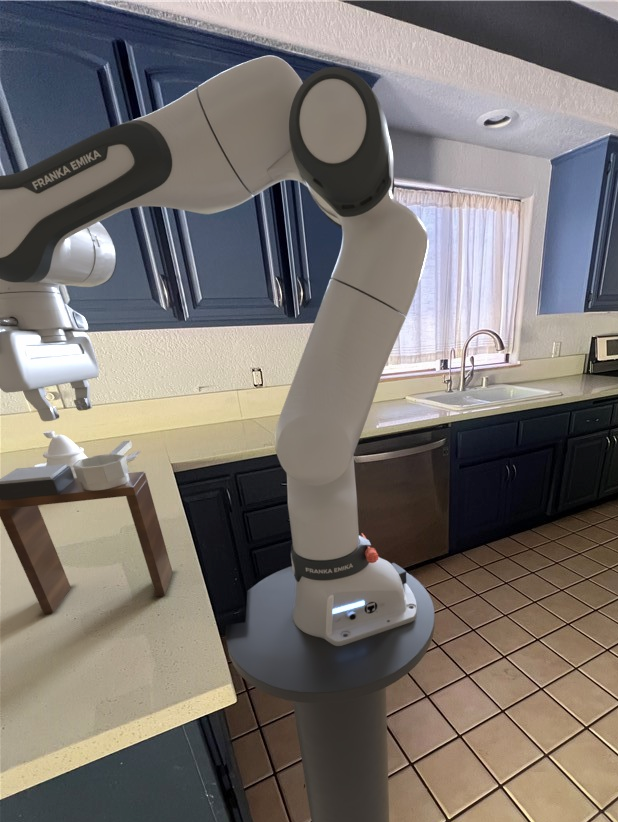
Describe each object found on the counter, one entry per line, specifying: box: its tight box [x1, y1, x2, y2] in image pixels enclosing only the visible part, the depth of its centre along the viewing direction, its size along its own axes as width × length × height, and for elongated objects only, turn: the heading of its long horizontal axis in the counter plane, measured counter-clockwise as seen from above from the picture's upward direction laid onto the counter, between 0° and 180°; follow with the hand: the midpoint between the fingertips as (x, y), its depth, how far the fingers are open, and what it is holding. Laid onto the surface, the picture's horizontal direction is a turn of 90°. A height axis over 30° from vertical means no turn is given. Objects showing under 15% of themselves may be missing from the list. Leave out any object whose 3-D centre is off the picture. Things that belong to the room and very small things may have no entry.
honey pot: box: [42, 430, 88, 478], centre depth 128 cm, size 13×13×18 cm
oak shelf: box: [0, 471, 174, 615], centre depth 77 cm, size 20×8×22 cm, turn 104°
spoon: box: [33, 450, 141, 467], centre depth 149 cm, size 9×32×4 cm, turn 107°
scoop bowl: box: [73, 440, 133, 491], centre depth 77 cm, size 7×19×4 cm, turn 14°
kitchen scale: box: [0, 464, 75, 500], centre depth 70 cm, size 8×7×3 cm
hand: (69, 414), depth 67 cm, fingers open, 8 cm apart
